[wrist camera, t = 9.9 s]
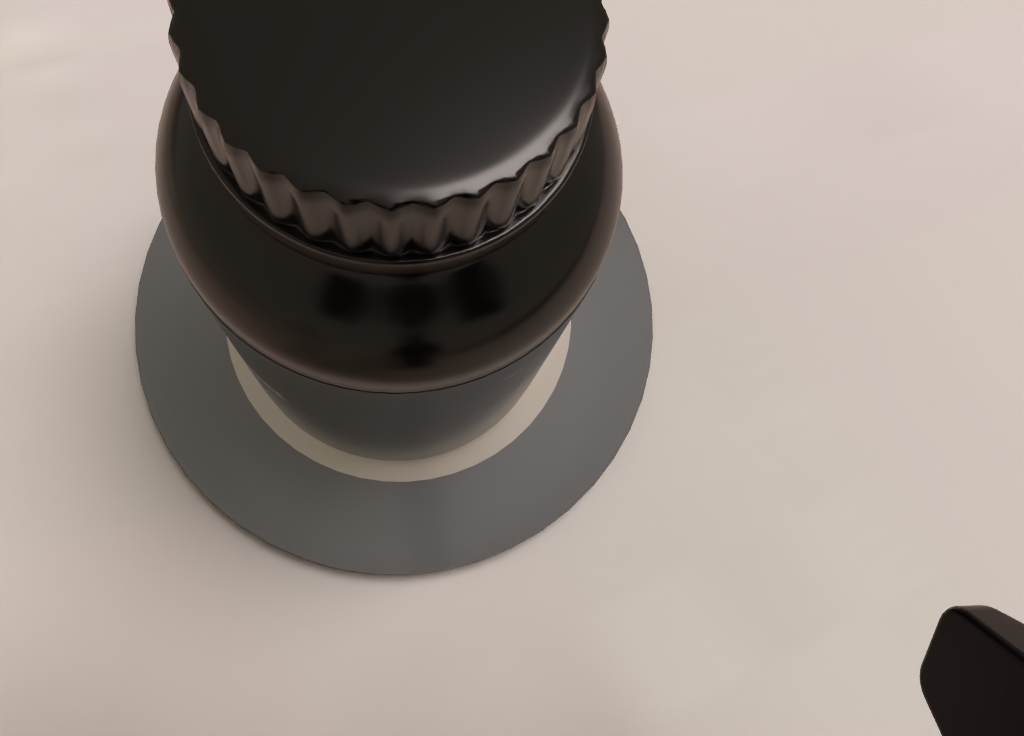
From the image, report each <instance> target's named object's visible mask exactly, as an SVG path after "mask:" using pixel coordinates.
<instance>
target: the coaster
mask: <svg viewBox="0 0 1024 736" xmlns="http://www.w3.org/2000/svg"><path fill="white" fill-rule="evenodd" d="M135 326H136V353H137V358H138V364H139V370H140V376H141V382H142V386H143V389H144V392H145V395H146V398H147V401H148V404H149V407H150V410H151V413H152V416H153V418H154V420H155V422H156V425H157V427H158V429H159V431H160V433H161V435H162V437H163V439H164V441H165V443H166V445H167V447H168V448H169V450H170V451H171V453H172V454H173V456H174V457H175V459H176V460H177V462H178V463H179V464H180V466H181V467H182V469H183V470H184V472H185V473H186V475H187V476H188V477H189V478H190V479H191V480H192V482H193V483H194V484H195V485H196V486H197V487H198V488H199V489H200V490H201V491H202V492H203V494H204V495H205V496H206V497H207V498H208V499H209V500H210V501H211V502H212V503H213V504H214V505H216V506H217V507H218V508H219V509H220V510H222V511H223V512H224V513H225V514H226V515H228V516H229V517H230V518H231V519H232V520H234V521H235V522H236V523H237V524H239V525H240V526H242V527H243V528H245V529H247V530H248V531H250V532H252V533H253V534H255V535H256V536H258V537H260V538H261V539H263V540H265V541H266V542H268V543H270V544H272V545H274V546H276V547H279V548H281V549H283V550H285V551H288V552H290V553H292V554H295V555H297V556H299V557H301V558H304V559H306V560H310V561H313V562H317V563H320V564H324V565H327V566H331V567H334V568H338V569H343V570H350V571H357V572H364V573H370V574H418V573H426V572H434V571H442V570H447V569H451V568H455V567H459V566H463V565H466V564H470V563H474V562H478V561H480V560H483V559H485V558H488V557H490V556H493V555H495V554H498V553H500V552H503V551H505V550H507V549H510V548H512V547H513V546H515V545H517V544H519V543H520V542H522V541H524V540H526V539H527V538H529V537H531V536H533V535H534V534H536V533H538V532H540V531H541V530H543V529H544V528H546V527H547V526H548V525H550V524H551V523H552V522H554V521H555V520H556V519H557V518H559V517H560V516H561V515H563V514H564V513H565V512H567V511H568V510H569V509H570V508H571V507H572V506H573V505H574V504H575V503H576V502H577V501H578V500H579V499H580V498H581V497H582V496H583V495H584V494H585V493H586V492H587V491H588V490H589V489H590V488H591V487H592V486H593V485H594V484H595V483H596V481H597V480H598V479H599V477H600V476H601V475H602V474H603V472H604V471H605V470H606V468H607V467H608V466H609V464H610V463H611V462H612V460H613V459H614V457H615V456H616V454H617V452H618V450H619V448H620V447H621V445H622V443H623V441H624V440H625V438H626V436H627V434H628V432H629V431H630V429H631V426H632V423H633V421H634V418H635V416H636V413H637V411H638V408H639V406H640V403H641V401H642V397H643V393H644V389H645V385H646V381H647V377H648V372H649V368H650V358H651V349H652V339H653V332H652V305H651V299H650V293H649V287H648V281H647V275H646V272H645V269H644V265H643V262H642V259H641V255H640V252H639V249H638V246H637V243H636V241H635V239H634V237H633V235H632V232H631V230H630V228H629V226H628V224H627V221H626V219H625V217H624V216H623V214H622V212H621V211H620V212H619V216H618V221H617V225H616V230H615V233H614V236H613V239H612V242H611V244H610V247H609V250H608V253H607V255H606V257H605V260H604V262H603V264H602V266H601V268H600V270H599V273H598V275H597V277H596V279H595V281H594V283H593V284H592V286H591V288H590V289H589V291H588V293H587V294H586V296H585V298H584V300H583V301H582V303H581V304H580V306H579V308H578V309H577V311H576V312H575V314H574V316H573V317H572V319H571V320H570V322H569V324H568V325H567V327H566V328H565V330H564V331H563V333H562V335H561V336H560V338H559V339H558V341H557V343H556V344H555V346H554V347H553V349H552V351H551V352H550V354H549V355H548V357H547V359H546V360H545V362H544V363H543V365H542V366H541V368H540V370H539V371H538V373H537V374H536V376H535V378H534V379H533V381H532V382H531V384H530V385H529V387H528V388H527V390H526V391H525V392H524V394H523V395H522V396H521V398H520V399H519V400H518V402H517V403H516V404H515V406H514V407H513V408H512V409H511V410H510V411H509V412H508V413H507V414H506V416H505V417H503V418H502V419H501V420H500V421H499V422H498V423H497V424H496V425H495V426H493V427H492V428H491V429H489V430H488V431H487V432H485V433H484V434H482V435H481V436H479V437H478V438H476V439H474V440H473V441H471V442H469V443H467V444H465V445H463V446H461V447H459V448H457V449H455V450H452V451H449V452H446V453H443V454H440V455H436V456H432V457H428V458H423V459H416V460H406V461H386V460H376V459H369V458H363V457H359V456H355V455H351V454H348V453H346V452H343V451H340V450H337V449H335V448H333V447H331V446H329V445H326V444H324V443H322V442H321V441H319V440H317V439H316V438H314V437H312V436H311V435H309V434H307V433H306V432H305V431H303V430H302V429H301V428H299V427H298V426H297V425H295V424H294V423H293V422H292V421H291V420H290V419H289V418H288V417H287V416H286V415H285V414H284V413H283V412H282V411H281V410H280V409H279V408H278V407H277V405H276V404H275V403H274V402H273V401H272V399H271V398H270V397H269V396H268V395H267V393H266V392H265V390H264V389H263V388H262V386H261V385H260V383H259V382H258V381H257V379H256V378H255V376H254V375H253V373H252V372H251V371H250V369H249V368H248V366H247V365H246V363H245V362H244V360H243V359H242V357H241V356H240V355H239V353H238V352H237V350H236V349H235V347H234V346H233V344H232V343H231V342H230V340H229V339H228V337H227V336H226V334H225V333H224V331H223V330H222V329H221V327H220V326H219V324H218V323H217V321H216V320H215V318H214V317H213V315H212V314H211V313H210V311H209V310H208V308H207V307H206V305H205V304H204V302H203V301H202V299H201V298H200V297H199V295H198V294H197V292H196V291H195V289H194V288H193V286H192V284H191V282H190V281H189V279H188V277H187V275H186V274H185V272H184V270H183V268H182V266H181V264H180V262H179V260H178V258H177V255H176V253H175V251H174V249H173V246H172V244H171V242H170V239H169V237H168V234H167V231H166V228H165V225H164V222H163V218H162V220H161V222H160V224H159V226H158V228H157V231H156V233H155V236H154V238H153V240H152V243H151V245H150V248H149V250H148V252H147V256H146V260H145V264H144V268H143V271H142V275H141V279H140V283H139V289H138V298H137V307H136V315H135Z"/></svg>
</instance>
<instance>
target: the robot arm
mask: <svg viewBox="0 0 1024 736" xmlns="http://www.w3.org/2000/svg"><path fill="white" fill-rule="evenodd" d="M920 684H921V689H922V692H923V695H924V697H925V699H926V702H927V704H928V706H929V708H930V710H931V713H932V715H933V717H934V719H935V721H936V723H937V726H938V728H939V730H940V732H941V734H942V736H1024V624H1023V623H1021V622H1019V621H1017V620H1015V619H1014V618H1012V617H1010V616H1008V615H1006V614H1004V613H1002V612H1000V611H998V610H997V609H994V608H992V607H989V606H983V605H975V606H954V607H951V608H948V609H947V610H946V611H945V612H944V613H943V614H942V616H941V617H940V619H939V622H938V624H937V627H936V629H935V632H934V635H933V637H932V640H931V642H930V645H929V647H928V650H927V652H926V655H925V657H924V660H923V662H922V665H921V668H920Z"/></svg>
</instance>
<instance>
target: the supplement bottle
mask: <svg viewBox="0 0 1024 736" xmlns="http://www.w3.org/2000/svg"><path fill="white" fill-rule="evenodd" d="M167 1H168V5H169V8H170V11H171V14H172V20H171V23H170V28H169V32H168V37H169V43H170V46H171V49H172V51H173V54H174V56H175V59H176V61H177V63H178V66H179V70H178V72H177V74H176V76H175V77H174V79H173V82H172V84H171V87H170V90H169V92H168V95H167V98H166V100H165V103H164V107H163V111H162V115H161V119H160V123H159V128H158V135H157V142H156V162H155V173H156V185H157V195H158V200H159V205H160V210H161V215H162V218H163V222H164V225H165V228H166V231H167V234H168V237H169V239H170V242H171V244H172V246H173V249H174V251H175V253H176V255H177V258H178V260H179V262H180V264H181V266H182V268H183V270H184V272H185V274H186V275H187V277H188V279H189V281H190V282H191V284H192V286H193V288H194V289H195V291H196V292H197V294H198V295H199V297H200V298H201V299H202V301H203V302H204V304H205V305H206V307H207V308H208V310H209V311H210V313H211V314H212V315H213V317H214V318H215V320H216V321H217V323H218V324H219V326H220V327H221V329H222V330H223V331H224V333H225V334H226V336H227V337H228V339H229V340H230V342H231V343H232V344H233V346H234V347H235V349H236V350H237V352H238V353H239V355H240V356H241V357H242V359H243V360H244V362H245V363H246V365H247V366H248V368H249V369H250V371H251V372H252V373H253V375H254V376H255V378H256V379H257V381H258V382H259V383H260V385H261V386H262V388H263V389H264V390H265V392H266V393H267V395H268V396H269V397H270V398H271V399H272V401H273V402H274V403H275V404H276V405H277V407H278V408H279V409H280V410H281V411H282V412H283V413H284V414H285V415H286V416H287V417H288V418H289V419H290V420H291V421H292V422H293V423H294V424H295V425H297V426H298V427H299V428H301V429H302V430H303V431H305V432H306V433H307V434H309V435H311V436H312V437H314V438H316V439H317V440H319V441H321V442H322V443H324V444H326V445H329V446H331V447H333V448H335V449H337V450H340V451H343V452H346V453H348V454H351V455H355V456H359V457H363V458H369V459H376V460H386V461H406V460H416V459H423V458H428V457H432V456H436V455H440V454H443V453H446V452H449V451H452V450H455V449H457V448H459V447H461V446H463V445H465V444H467V443H469V442H471V441H473V440H474V439H476V438H478V437H479V436H481V435H482V434H484V433H485V432H487V431H488V430H489V429H491V428H492V427H493V426H495V425H496V424H497V423H498V422H499V421H500V420H501V419H502V418H503V417H505V416H506V414H507V413H508V412H509V411H510V410H511V409H512V408H513V407H514V406H515V404H516V403H517V402H518V400H519V399H520V398H521V396H522V395H523V394H524V392H525V391H526V390H527V388H528V387H529V385H530V384H531V382H532V381H533V379H534V378H535V376H536V374H537V373H538V371H539V370H540V368H541V366H542V365H543V363H544V362H545V360H546V359H547V357H548V355H549V354H550V352H551V351H552V349H553V347H554V346H555V344H556V343H557V341H558V339H559V338H560V336H561V335H562V333H563V331H564V330H565V328H566V327H567V325H568V324H569V322H570V320H571V319H572V317H573V316H574V314H575V312H576V311H577V309H578V308H579V306H580V304H581V303H582V301H583V300H584V298H585V296H586V294H587V293H588V291H589V289H590V288H591V286H592V284H593V283H594V281H595V279H596V277H597V275H598V273H599V270H600V268H601V266H602V264H603V262H604V260H605V257H606V255H607V253H608V250H609V247H610V244H611V242H612V239H613V236H614V233H615V230H616V225H617V221H618V216H619V212H620V205H621V196H622V156H621V146H620V140H619V135H618V130H617V125H616V122H615V119H614V116H613V112H612V109H611V106H610V103H609V100H608V98H607V96H606V93H605V91H604V89H603V86H602V84H601V82H600V81H601V79H602V76H603V73H604V71H605V68H606V63H607V55H606V49H605V46H604V41H605V38H606V35H607V32H608V29H609V18H608V16H607V13H606V10H605V9H604V7H603V5H602V3H601V2H602V0H167Z"/></svg>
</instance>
